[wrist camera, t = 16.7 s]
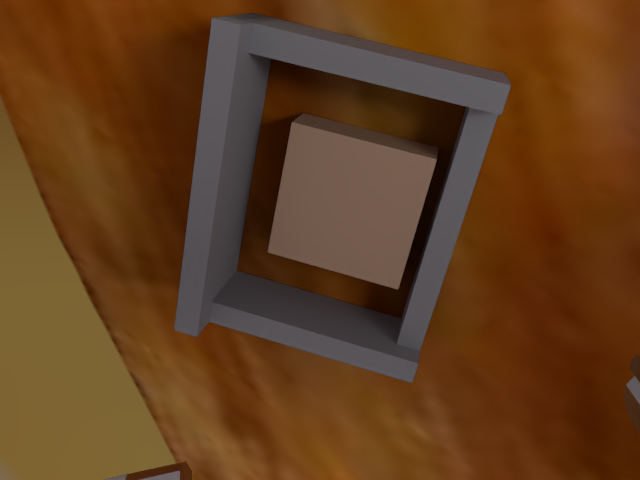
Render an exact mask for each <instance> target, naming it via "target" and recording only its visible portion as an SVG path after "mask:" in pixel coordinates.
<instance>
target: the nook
mask: <svg viewBox="0 0 640 480" xmlns="http://www.w3.org/2000/svg"><path fill="white" fill-rule="evenodd" d="M271 59H275V60H279V61H283V62H287V63H292V64H296V65H300V66H304V67H308V68H312V69H316V70H320V71H324V72H328V73H332V74H336V75H340V76H344V77H348V78H352V79H356V80H360V81H364V82H368V83H372V84H377V85H381V86H385V87H389V88H393V89H397V90H401V91H405V92H409V93H413V94H417V95H421V96H425V97H429V98H433V99H437V100H441V101H445V102H449V103H453V104H457V105H462V106H466V109H465V112H464V115H463V119H462V122H461V125H460V128H459V132H458V135H457V138H456V142H455V145H454V148H453V151H452V155H451V158H450V161H449V164H448V168H447V171H446V174H445V177H444V181H443V184H442V187H441V190H440V194H439V197H438V200H437V204H436V207H435V210H434V213H433V217H432V220H431V223H430V226H429V230H428V233H427V236H426V239H425V243H424V246H423V249H422V252H421V256H420V259H419V262H418V266H417V269H416V272H415V275H414V279H413V282H412V285H411V288H410V292H409V295H408V298H407V301H406V305H405V308H404V311H403V314H402V318H398V317H395V316H392V315H388V314H385V313H381V312H378V311H374V310H371V309H367V308H364V307H361V306H357V305H354V304H350V303H347V302H343V301H340V300H336V299H333V298H330V297H326V296H323V295H319V294H316V293H312V292H309V291H305V290H302V289H299V288H295V287H292V286H288V285H285V284H281V283H278V282H274V281H271V280H268V279H264V278H261V277H257V276H254V275H250V274H247V273H243V272H240V271H237V265H238V259H239V253H240V247H241V241H242V235H243V229H244V223H245V217H246V210H247V204H248V198H249V192H250V186H251V180H252V174H253V168H254V162H255V156H256V150H257V144H258V138H259V132H260V125H261V119H262V113H263V107H264V101H265V95H266V89H267V83H268V77H269V71H270V65H271ZM510 88H511V84H510V82H509V80H508V78H507V76H506V74H505V73H502V72H498V71H494V70H489V69H485V68H481V67H477V66H473V65H468V64H464V63H460V62H456V61H452V60H448V59H443V58H439V57H435V56H431V55H427V54H422V53H418V52H414V51H410V50H406V49H402V48H397V47H393V46H389V45H385V44H381V43H376V42H372V41H368V40H364V39H360V38H356V37H351V36H347V35H343V34H339V33H335V32H330V31H326V30H322V29H318V28H314V27H309V26H305V25H301V24H297V23H293V22H289V21H284V20H280V19H276V18H272V17H268V16H263V15H259V14H255V13H251V14H242V15H234V16H225V17H217V18H212V21H211V30H210V38H209V46H208V54H207V63H206V71H205V79H204V88H203V96H202V104H201V112H200V121H199V129H198V137H197V145H196V154H195V162H194V170H193V178H192V187H191V195H190V203H189V212H188V220H187V228H186V236H185V245H184V253H183V261H182V269H181V278H180V286H179V294H178V303H177V311H176V319H175V327H174V330H175V331H179V332H182V333H185V334H189V335H192V336H195V337H198V335H199V334H200V333H201V331H202V330H203V329H204V327H205V326H206V325H207V323H208V322H211V323H214V324H218V325H221V326H224V327H227V328H231V329H234V330H237V331H241V332H244V333H247V334H251V335H254V336H257V337H261V338H264V339H267V340H270V341H274V342H277V343H280V344H284V345H287V346H290V347H294V348H297V349H300V350H304V351H307V352H310V353H314V354H317V355H320V356H323V357H327V358H330V359H333V360H337V361H340V362H343V363H347V364H350V365H353V366H357V367H360V368H363V369H366V370H370V371H373V372H376V373H380V374H383V375H386V376H390V377H393V378H396V379H400V380H403V381H406V382H410V383H412V382H413V379H414V376H415V373H416V370H417V367H418V364H419V355H420V350H421V346H422V343H423V340H424V337H425V334H426V331H427V328H428V325H429V322H430V319H431V316H432V313H433V310H434V307H435V304H436V301H437V298H438V295H439V292H440V289H441V286H442V283H443V280H444V277H445V274H446V271H447V268H448V265H449V262H450V259H451V256H452V253H453V250H454V247H455V244H456V241H457V238H458V235H459V232H460V229H461V226H462V223H463V219H464V216H465V213H466V210H467V207H468V204H469V201H470V198H471V195H472V192H473V189H474V186H475V183H476V180H477V177H478V174H479V171H480V168H481V165H482V162H483V159H484V156H485V153H486V150H487V147H488V144H489V141H490V138H491V135H492V132H493V129H494V126H495V123H496V120H497V117H498V115H502V112H503V109H504V106H505V103H506V100H507V97H508V94H509V91H510ZM438 149H439V147H435V146H431V145H427V144H423V143H419V142H415V141H411V140H407V139H403V138H399V137H396V136H392V135H388V134H384V133H380V132H376V131H372V130H368V129H364V128H360V127H357V126H353V125H349V124H345V123H341V122H337V121H333V120H329V119H325V118H321V117H317V116H314V115H310V114H306V113H303V114H301V115H300V116H299V117H298V118H296V119H295V120H294V121H293V122H292V124H291V129H290V134H289V140H288V145H287V151H286V156H285V161H284V167H283V172H282V177H281V183H280V188H279V194H278V199H277V204H276V210H275V215H274V220H273V226H272V231H271V236H270V242H269V247H268V253H271V254H275V255H278V256H282V257H285V258H289V259H292V260H296V261H299V262H303V263H306V264H310V265H313V266H317V267H320V268H324V269H327V270H331V271H334V272H338V273H341V274H345V275H348V276H352V277H355V278H359V279H362V280H366V281H369V282H373V283H376V284H380V285H383V286H387V287H390V288H394V289H397V290H398V289H399V286H400V282H401V279H402V276H403V272H404V269H405V265H406V262H407V259H408V255H409V252H410V249H411V245H412V242H413V239H414V235H415V232H416V228H417V225H418V222H419V218H420V215H421V212H422V208H423V205H424V202H425V198H426V195H427V191H428V188H429V185H430V181H431V178H432V175H433V171H434V168H435V164H436V161H437V156H438Z"/></svg>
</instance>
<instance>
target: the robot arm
mask: <svg viewBox="0 0 640 480" xmlns="http://www.w3.org/2000/svg"><path fill="white" fill-rule="evenodd" d="M630 370H631V371H632V373H633V374H634V377H633V378H632V379H631V380H630V381H629V382H628V383H627V384H626V388H625V395H624V399H625V403H626V408H627V412H628V414H629V416H630V418H631V420H632V422H633V424H634V426H635V427H636V429H637V430H638V432H639V433H640V354H638V355H636V356H635V357H634V358H633V359H632V360H631V365H630ZM104 480H192V470H191V469H190V467H189V465H188V464H187V462H186V461H185V462H180V463H176V464H171V465H167V466H163V467H158V468H154V469H149V470H144V471H140V472H135V473H131V474H125V475H121V476H116V477H112V478H108V479H104Z"/></svg>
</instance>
